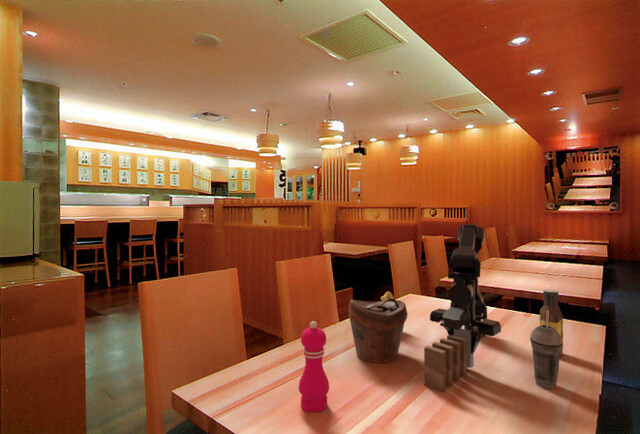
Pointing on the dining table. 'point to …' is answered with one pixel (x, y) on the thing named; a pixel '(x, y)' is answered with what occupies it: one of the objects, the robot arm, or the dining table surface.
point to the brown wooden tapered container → (377, 328)
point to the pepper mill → (313, 370)
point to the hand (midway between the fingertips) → (463, 350)
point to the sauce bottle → (552, 312)
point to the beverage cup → (546, 354)
